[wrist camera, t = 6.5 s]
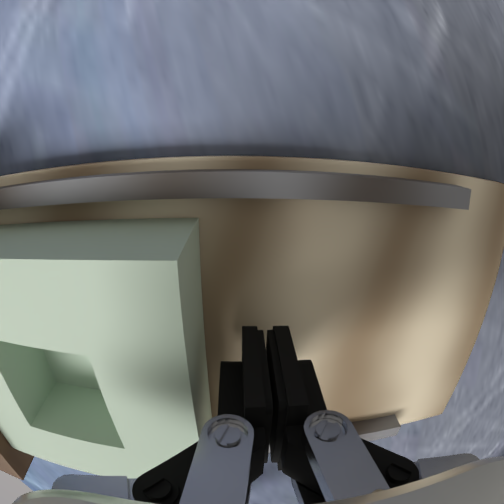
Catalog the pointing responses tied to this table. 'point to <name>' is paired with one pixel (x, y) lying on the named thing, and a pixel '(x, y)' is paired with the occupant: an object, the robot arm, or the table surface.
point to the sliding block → (102, 342)
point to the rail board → (310, 265)
